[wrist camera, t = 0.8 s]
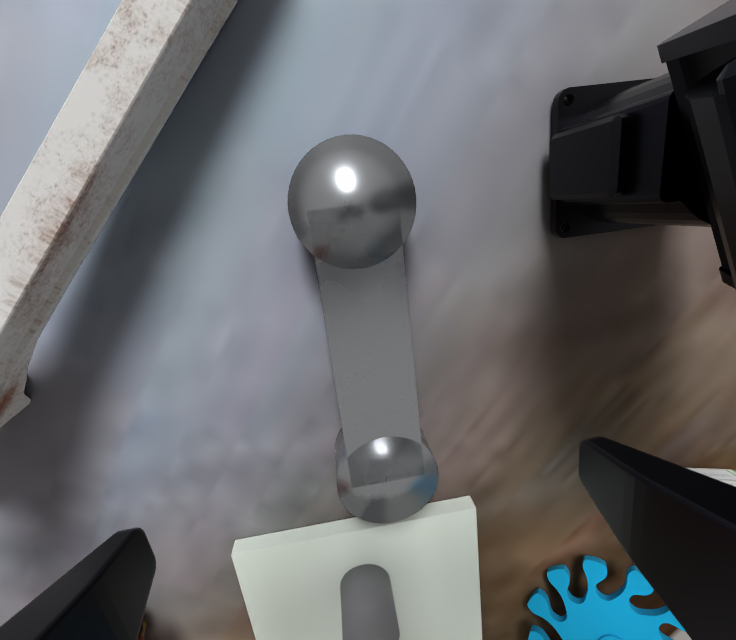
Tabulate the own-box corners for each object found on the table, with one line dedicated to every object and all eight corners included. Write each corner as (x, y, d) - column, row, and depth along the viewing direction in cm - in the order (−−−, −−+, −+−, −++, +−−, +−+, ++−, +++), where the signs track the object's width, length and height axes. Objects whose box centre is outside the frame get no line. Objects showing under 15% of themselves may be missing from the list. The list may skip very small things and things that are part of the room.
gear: (618, 530, 23) (791, 731, 18) (613, 507, 28) (748, 660, 23) (479, 617, 26) (598, 810, 21) (497, 582, 31) (597, 732, 26)
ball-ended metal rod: (395, 141, 17) (410, 127, 14) (426, 473, 22) (441, 512, 19) (284, 154, 17) (276, 142, 14) (341, 489, 22) (344, 531, 19)
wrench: (293, -34, 17) (-25, 501, 19) (257, -65, 17) (-65, 486, 18) (288, -269, 9) (-250, 677, 11) (220, -338, 9) (-331, 659, 11)
